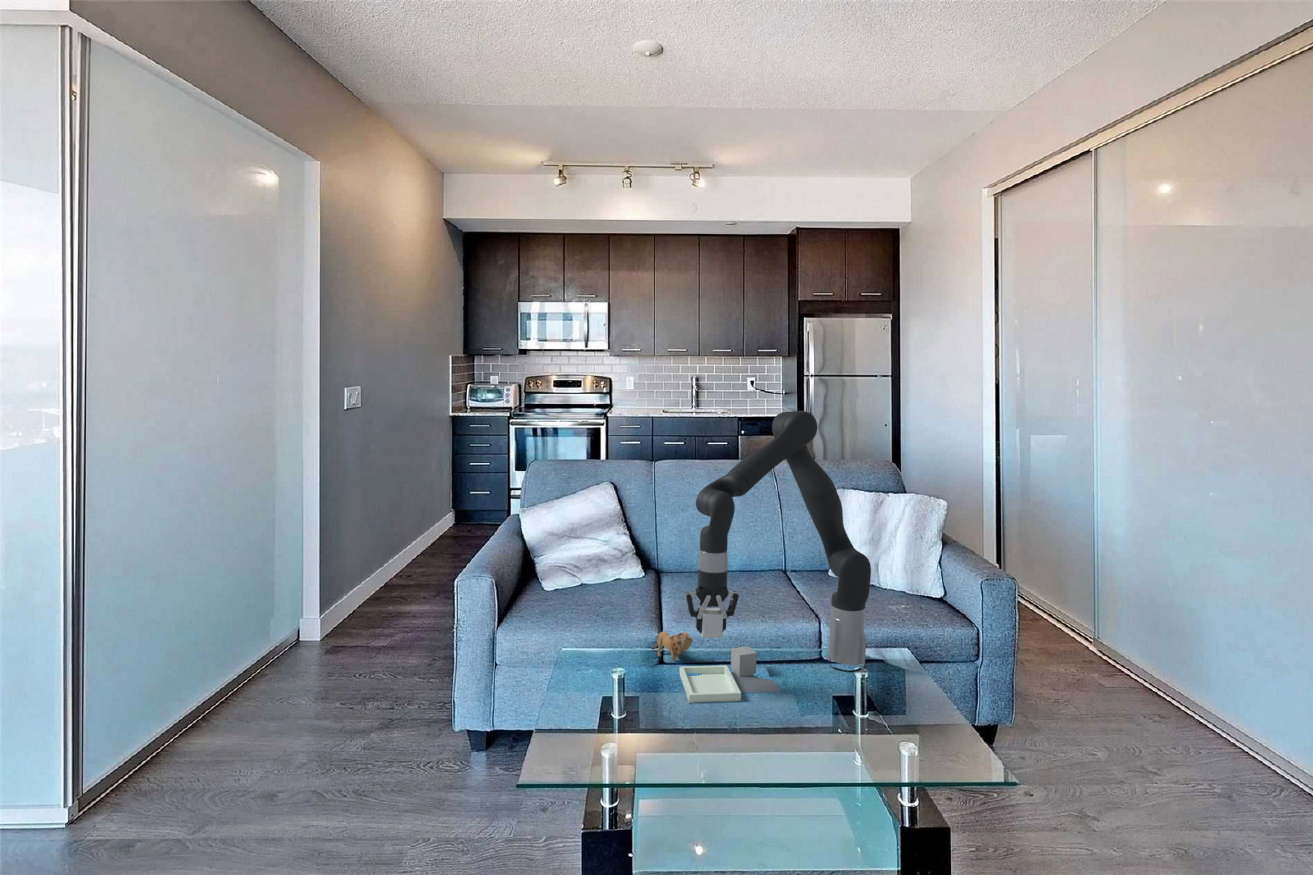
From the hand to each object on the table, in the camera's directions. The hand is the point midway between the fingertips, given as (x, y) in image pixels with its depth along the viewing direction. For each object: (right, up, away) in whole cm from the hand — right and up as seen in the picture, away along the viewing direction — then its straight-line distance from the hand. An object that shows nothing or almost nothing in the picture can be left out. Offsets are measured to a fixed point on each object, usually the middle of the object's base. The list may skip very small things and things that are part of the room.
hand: (710, 631), depth 198 cm
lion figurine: (-10, -13, +21) cm, 26 cm away
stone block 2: (+10, -14, +11) cm, 20 cm away
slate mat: (+12, -15, +7) cm, 20 cm away
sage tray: (0, -15, +2) cm, 15 cm away
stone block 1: (0, -1, 0) cm, 1 cm away
